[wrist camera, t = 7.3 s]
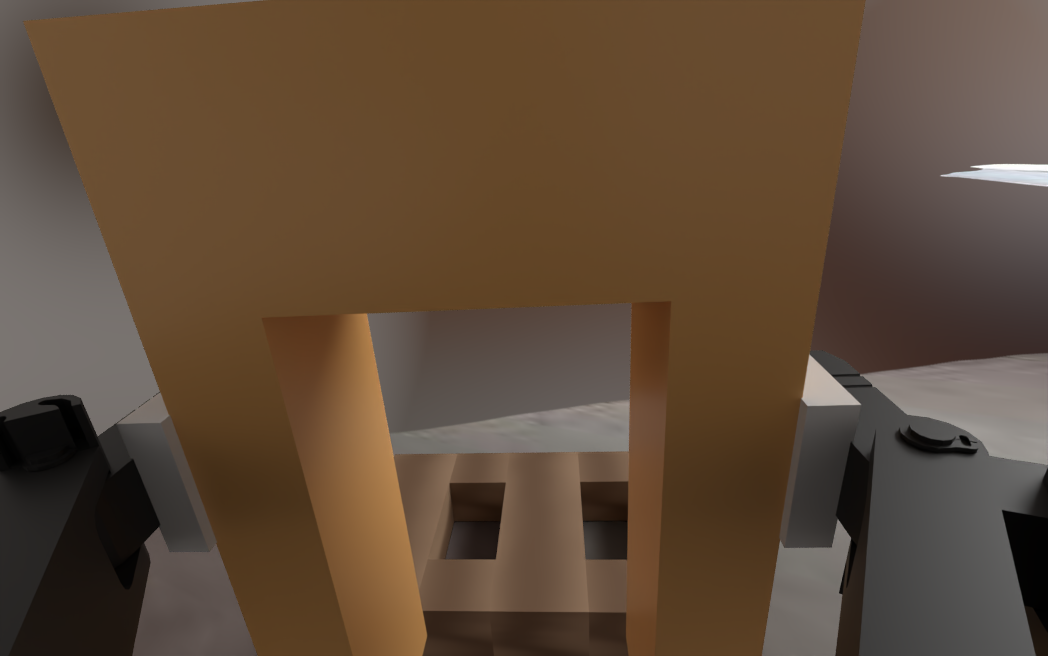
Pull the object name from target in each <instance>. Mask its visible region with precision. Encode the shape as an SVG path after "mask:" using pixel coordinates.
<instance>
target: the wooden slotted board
mask: <svg viewBox="0 0 1048 656" xmlns="http://www.w3.org/2000/svg"><path fill="white" fill-rule="evenodd" d="M394 462H395V467H396V472H397V478H398V483H399V488H400V493H401V499H402V504H403V509H404V515H405V520H406V525H407V531H408V536H409V541H410V547H411V552H412V557H413V563H414V568H415V573H416V578H417V584H418V589H419V594H420V600H421V605H422V610H423V616H424V621H425V626H426V632H427V639H426V643H425V647H424V651H423V655H422V656H629V655H628V648H627V640H626V605H627V560H585V547H584V533H583V521H628V481H629V452H553V453H474V454H395V456H394ZM454 521H501V524H500V532H499V540H498V547H497V555H496V559H445V558H446V553H447V549H448V545H449V541H450V537H451V533H452V529H453V525H454Z"/></svg>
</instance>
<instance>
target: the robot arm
mask: <svg viewBox="0 0 1048 656" xmlns="http://www.w3.org/2000/svg"><path fill="white" fill-rule="evenodd" d="M837 519H838V520H839V521H840V522H841V524H842V525H843V527H844V528H845V530H846V531H847V533H848V534H849V535H850V537H851V542H850V546H849V551H848V555H847V560H846V564H845V569H844V573H843V578H842V582H841V586H840V591H839V593H840V594H843V596H842V604H841V613H840V621H839V630H838V638H837V647H836V656H1048V465H1044V464H1037V463H1031V462H1024V461H1017V460H1011V459H1004V458H998V457H992V456H989V454H988V451H987V450H986V448H985V446H984V445H983V443H982V442H981V441H980V440H978V439H977V438H976V437H974V436H973V435H971V434H970V433H969V432H967V431H965V430H963V429H960V428H958V427H956V426H954V425H951V424H949V423H946V422H942V421H939V420H935V419H931V418H927V417H919V416H911V415H907V414H905V413H904V412H903V411H902V410H901V409H900V408H899V407H897V406H896V405H895V404H894V403H893V402H892V401H890V400H889V399H888V398H887V397H886V396H885V395H884V394H882V393H881V392H880V391H879V390H878V389H877V388H876V387H872V384H871V383H870V382H869V381H868V380H866V379H865V378H864V377H863V376H860V373H858V372H857V371H856V370H855V369H854V368H853V367H851V366H850V365H849V364H848V363H847V362H846V361H844V360H842V359H840V358H837V357H835V356H833V355H831V354H829V353H826V352H825V351H810V354H809V360H808V366H807V373H806V379H805V385H804V391H803V398H801V402H800V408H799V415H798V421H797V427H796V434H795V440H794V446H793V453H792V459H791V465H790V472H789V478H788V484H787V491H786V497H785V503H784V510H783V516H782V522H781V529H780V535H779V538H780V540H781V542H782V544H783V546H784V548H814V547H832V543H833V539H834V534H835V529H836V524H837ZM158 527H159V528H160V530H161V532H162V535H163V537H164V540H165V542H166V544H167V547H168V549H169V552H210V551H211V549H212V548H213V547H214V545H215V544H216V543H217V541H216V538H215V536H214V533H213V530H212V527H211V525H210V522H209V519H208V517H207V514H206V511H205V508H204V506H203V503H202V500H201V498H200V495H199V492H198V489H197V487H196V484H195V481H194V479H193V476H192V473H191V470H190V468H189V465H188V462H187V460H186V457H185V454H184V451H183V449H182V446H181V443H180V441H179V438H178V435H177V433H176V430H175V427H174V424H173V422H172V419H171V416H170V415H169V414H168V412H167V409H166V406H165V403H164V401H163V398H162V395H161V393H160V392H159V393H158V394H156V395H155V396H153V398H151V399H149V400H148V401H146V402H145V403H144V404H142V405H141V406H139V408H138V409H136V410H134V411H132V412H131V413H130V414H128V415H127V416H126V417H124V418H123V419H121V420H120V421H119V422H117V423H116V424H114V425H113V426H112V427H110V428H109V429H107V430H106V431H105V432H103V433H102V434H101V435H99V436H98V437H97V434H96V432H95V430H94V428H93V425H92V423H91V421H90V418H89V416H88V414H87V411H86V409H85V407H84V405H83V402H82V400H81V398H79V397H77V396H74V395H58V396H52V397H46V398H41V399H37V400H34V401H30V402H26V403H23V404H20V405H17V406H15V407H12V408H10V409H7V410H4V411H2V412H0V656H132V653H133V648H134V643H135V638H136V633H137V628H138V623H139V618H140V613H141V608H142V603H143V598H144V593H145V588H146V582H147V577H148V572H149V567H150V557H149V553H148V551H147V549H146V546H145V544H144V542H145V541H146V540H147V539H148V538H149V537H150V535H151V534H152V533H153V532H154V531H155V530H156V529H157V528H158Z"/></svg>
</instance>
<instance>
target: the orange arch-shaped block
mask: <svg viewBox="0 0 1048 656" xmlns="http://www.w3.org/2000/svg"><path fill="white" fill-rule="evenodd" d="M865 1H866V0H263V1H253V2H240V3H228V4H217V5H205V6H193V7H182V8H171V9H158V10H147V11H135V12H123V13H111V14H100V15H88V16H76V17H65V18H55V19H54V18H53V19H42V20H29V21H23V22H24V25H25V28H26V30H27V33H28V36H29V39H30V41H31V44H32V47H33V49H34V52H35V55H36V58H37V60H38V63H39V65H40V68H41V71H42V74H43V76H44V79H45V82H46V84H47V87H48V90H49V93H50V95H51V98H52V101H53V103H54V106H55V109H56V111H57V114H58V117H59V119H60V122H61V125H62V128H63V130H64V133H65V136H66V138H67V141H68V144H69V147H70V149H71V152H72V155H73V157H74V160H75V163H76V166H77V168H78V171H79V174H80V176H81V179H82V182H83V185H84V187H85V190H86V193H87V195H88V198H89V201H90V203H91V206H92V209H93V212H94V214H95V217H96V220H97V222H98V225H99V228H100V230H101V233H102V236H103V238H104V241H105V243H106V247H107V249H108V252H109V254H110V257H111V260H112V263H113V266H114V268H115V271H116V273H117V276H118V279H119V282H120V285H121V287H122V290H123V293H124V295H125V298H126V300H127V303H128V306H129V309H130V312H131V314H132V317H133V320H134V322H135V325H136V328H137V330H138V333H139V336H140V339H141V341H142V344H143V347H144V349H145V352H146V355H147V358H148V360H149V363H150V366H151V368H152V371H153V374H154V376H155V379H156V382H157V384H158V387H159V390H160V393H161V395H162V398H163V401H164V403H165V406H166V409H167V412H168V414H169V415H170V416H171V419H172V422H173V424H174V427H175V430H176V433H177V435H178V438H179V441H180V443H181V446H182V449H183V451H184V454H185V457H186V460H187V462H188V465H189V468H190V470H191V473H192V476H193V479H194V481H195V484H196V487H197V489H198V492H199V495H200V498H201V500H202V503H203V506H204V508H205V511H206V514H207V517H208V519H209V522H210V525H211V527H212V530H213V533H214V536H215V538H216V541H217V543H216V544H217V547H218V549H219V552H220V555H221V558H222V560H223V563H224V566H225V568H226V571H227V574H228V576H229V579H230V582H231V585H232V587H233V590H234V593H235V595H236V598H237V601H238V604H239V606H240V609H241V612H242V614H243V617H244V620H245V622H246V625H247V628H248V631H249V633H250V636H251V639H252V641H253V644H254V647H255V649H256V652H257V655H258V656H422V655H423V651H424V647H425V643H426V639H427V632H426V626H425V621H424V616H423V610H422V605H421V600H420V594H419V589H418V584H417V578H416V573H415V568H414V563H413V557H412V552H411V547H410V541H409V536H408V531H407V525H406V520H405V515H404V509H403V504H402V499H401V493H400V488H399V483H398V478H397V472H396V467H395V462H394V456H393V451H392V446H391V440H390V435H389V430H388V424H387V419H386V414H385V408H384V404H383V398H382V393H381V387H380V382H379V377H378V371H377V366H376V361H375V355H374V350H373V345H372V339H371V334H370V329H369V323H368V318H367V313H390V312H391V313H392V312H415V311H441V310H466V309H490V308H515V307H539V306H540V307H541V306H564V305H590V304H615V303H631V359H630V419H629V481H628V543H627V605H626V640H627V648H628V655H629V656H762V650H763V643H764V637H765V631H766V624H767V618H768V612H769V606H770V599H771V593H772V587H773V580H774V574H775V568H776V562H777V555H778V549H779V543H780V538H779V535H780V529H781V522H782V516H783V510H784V503H785V497H786V491H787V484H788V478H789V472H790V465H791V459H792V453H793V446H794V440H795V434H796V427H797V421H798V415H799V408H800V402H801V398H803V391H804V385H805V379H806V373H807V366H808V360H809V354H810V347H811V340H812V334H813V328H814V322H815V316H816V309H817V303H818V297H819V291H820V284H821V278H822V272H823V265H824V258H825V252H826V247H827V240H828V234H829V228H830V221H831V215H832V209H833V202H834V196H835V190H836V183H837V177H838V171H839V165H840V158H841V151H842V146H843V140H844V133H845V127H846V121H847V114H848V108H849V102H850V96H851V89H852V83H853V76H854V70H855V64H856V57H857V51H858V45H859V38H860V31H861V26H862V20H863V14H864V7H865Z"/></svg>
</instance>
